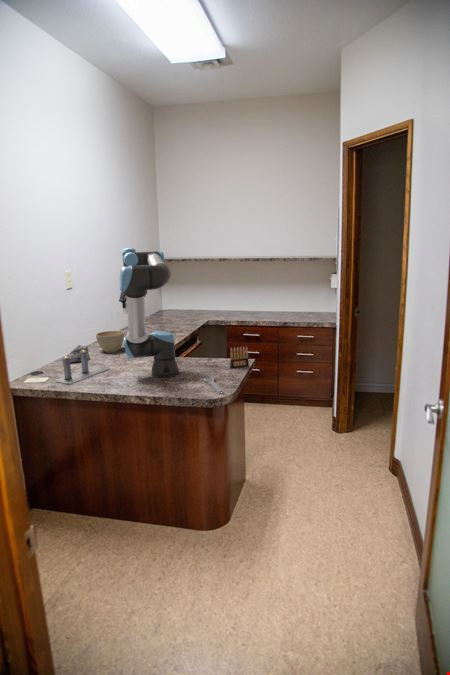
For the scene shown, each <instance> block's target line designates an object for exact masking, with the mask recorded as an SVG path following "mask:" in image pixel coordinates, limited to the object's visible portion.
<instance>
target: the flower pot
mask: <svg viewBox="0 0 450 675" xmlns="http://www.w3.org/2000/svg"><path fill="white" fill-rule="evenodd" d="M95 337H96V342H97V343H98V346H100V348H101V349H102V350H103V351H104V352H105V353H108V354H109V353H110V354H112V353H116V352H119V350H120V349H121V347H122V345H123V344H124V339H123V338H124V337H125V332H124V331H122V330H107V331H100V332H97V333H96V334H95Z"/></svg>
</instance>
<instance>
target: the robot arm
mask: <svg viewBox="0 0 450 675" xmlns="http://www.w3.org/2000/svg"><path fill="white" fill-rule="evenodd" d="M121 252H122V255H121V256H122V264H123V266H122V268H121V269H120V272H119V291H120V295H119V300H118V302H119V303H121V305H122V309H123V310H122V311H123V314H125V315H126V314H127V326H128V331H127V333H126V335H125V336H124V338H123V339H124V340H123V344H124V351H125V355H126V357H127V358H128V359H137V358H138V359H139V358H148V357H153V363H152V367H151V371H150V373H151V376H152V377H156V378H170V377H175V376H177V375H179V374H180V368H179V365H178V362H177V360H176V347H175V343H176V342H175V336H174V334H173V333H172V332H169V331H163V330H155V331H152V333H151V334H149V333H148V331H147V330H146V307H145V305H146V303H145V298H146V296H147V295H148V291H152V290H159V289H161V288H163V287H165V285H167V284H168V283H169V281H170V279H171V275H172V274H171V269H170V268H169V266H168V265H167V264H166V263H165V254H164V252H163V251H161V250H160V251H158V250H156V251H141V252H140V251H136V249H135V248H134V247H130V248H127V247H126V248H123V249H122V251H121Z"/></svg>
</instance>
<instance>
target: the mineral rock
mask: <svg viewBox="0 0 450 675" xmlns="http://www.w3.org/2000/svg"><path fill="white" fill-rule="evenodd" d="M81 350H86V352H87V360H88V361H89V360H90V359H91V357H90V354H89V347H88V346H87V345H81V344H78V345H77V346H76V347H75V348H74V349H73V350H72V351H70V353H69V354H68V355H67V356H69V358H70V363H79V362H80V363H81V355H80V353H81Z"/></svg>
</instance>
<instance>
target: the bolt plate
mask: <svg viewBox="0 0 450 675" xmlns="http://www.w3.org/2000/svg"><path fill="white" fill-rule="evenodd" d="M62 363H63V365H62V366H63V373H64V376H62V377H60V378H57V379H55V382H57V383H60V384H66V385H71V384H74V383H76V382H79V381H82V380H85V379H87V378H91V377H92V376H96V375H98V374H101V373H102V372H105V371H108V370H111V366H107V365H100V364H95V365H92V366H90V367H88V370H89V371H88V372H82V369H81V370H79V371H75V372H73V373H72V369H71V362H70V358H69V356H68V355H65V356H62Z"/></svg>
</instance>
